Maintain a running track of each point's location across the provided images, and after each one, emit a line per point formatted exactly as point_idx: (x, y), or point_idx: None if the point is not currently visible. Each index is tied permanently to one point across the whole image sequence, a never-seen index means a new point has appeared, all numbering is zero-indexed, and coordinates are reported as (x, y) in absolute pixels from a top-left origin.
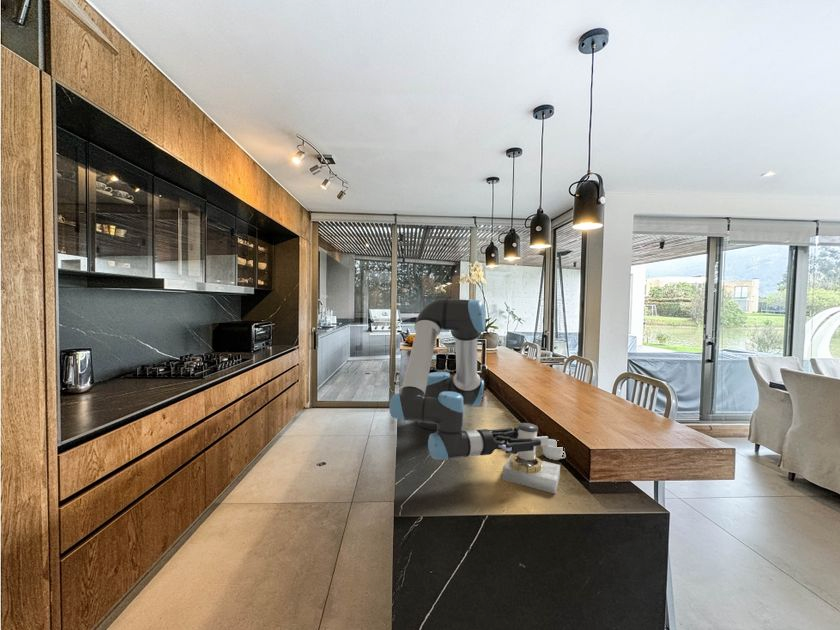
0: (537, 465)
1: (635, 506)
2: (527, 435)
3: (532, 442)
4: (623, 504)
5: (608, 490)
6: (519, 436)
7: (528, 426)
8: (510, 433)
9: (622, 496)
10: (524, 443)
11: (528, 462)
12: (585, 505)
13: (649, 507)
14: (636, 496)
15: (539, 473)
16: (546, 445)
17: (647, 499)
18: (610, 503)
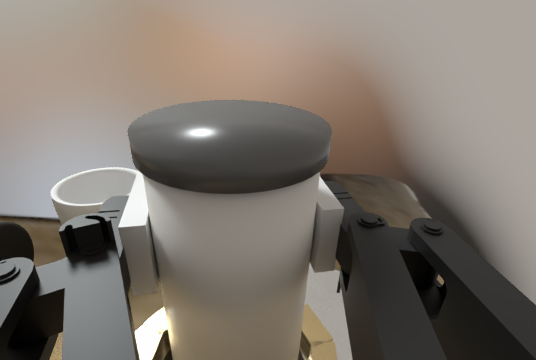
0: (308, 320)
1: (394, 198)
2: (313, 205)
3: (441, 227)
4: (393, 210)
5: None
6: (228, 270)
7: (244, 124)
8: (131, 338)
9: (353, 197)
10: (527, 300)
11: None
12: (440, 283)
13: (389, 183)
14: (347, 181)
15: (345, 344)
16: (99, 206)
17: (355, 174)
18: (399, 227)
